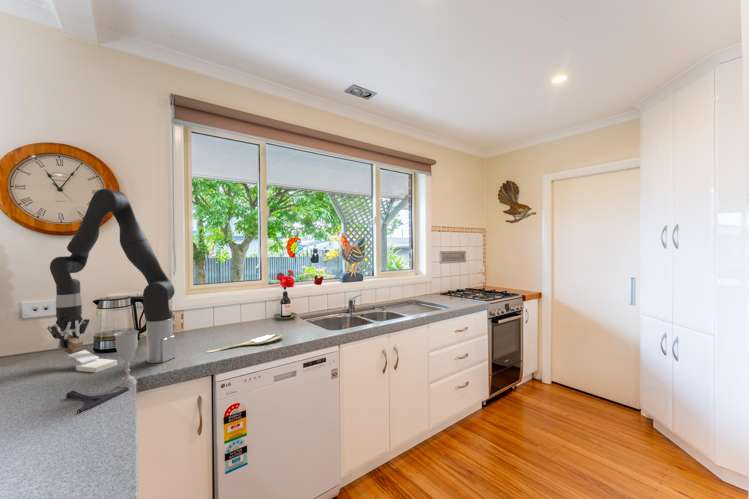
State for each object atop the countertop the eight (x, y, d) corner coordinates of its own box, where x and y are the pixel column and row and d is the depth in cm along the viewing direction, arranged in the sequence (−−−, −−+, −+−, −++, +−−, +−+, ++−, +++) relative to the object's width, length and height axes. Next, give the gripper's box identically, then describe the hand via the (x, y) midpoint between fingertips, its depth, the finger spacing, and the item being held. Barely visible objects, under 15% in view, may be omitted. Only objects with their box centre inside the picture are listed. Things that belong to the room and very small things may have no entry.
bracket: (92, 389, 106) (92, 381, 106) (129, 392, 104) (128, 383, 103) (40, 411, 92) (40, 402, 92) (81, 415, 89) (81, 406, 89)
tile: (98, 363, 129) (117, 365, 127) (76, 371, 121) (95, 373, 119) (98, 358, 129) (117, 360, 127) (76, 365, 121) (95, 367, 119)
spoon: (207, 360, 135) (207, 355, 135) (204, 353, 144) (204, 349, 144) (285, 340, 155) (285, 336, 155) (279, 335, 164) (278, 331, 164)
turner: (98, 358, 128) (101, 347, 127) (82, 364, 122) (85, 352, 121) (70, 344, 131) (73, 333, 130) (53, 348, 125) (56, 337, 125)
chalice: (145, 381, 110) (143, 331, 110) (124, 389, 104) (123, 336, 103) (131, 378, 113) (129, 329, 112) (109, 386, 106) (108, 334, 106)
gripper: (54, 308, 119) (56, 353, 119) (94, 302, 133) (95, 342, 133) (40, 308, 121) (41, 352, 121) (81, 301, 135) (82, 341, 135)
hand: (70, 346), depth 127 cm, fingers closed on turner, 3 cm apart
